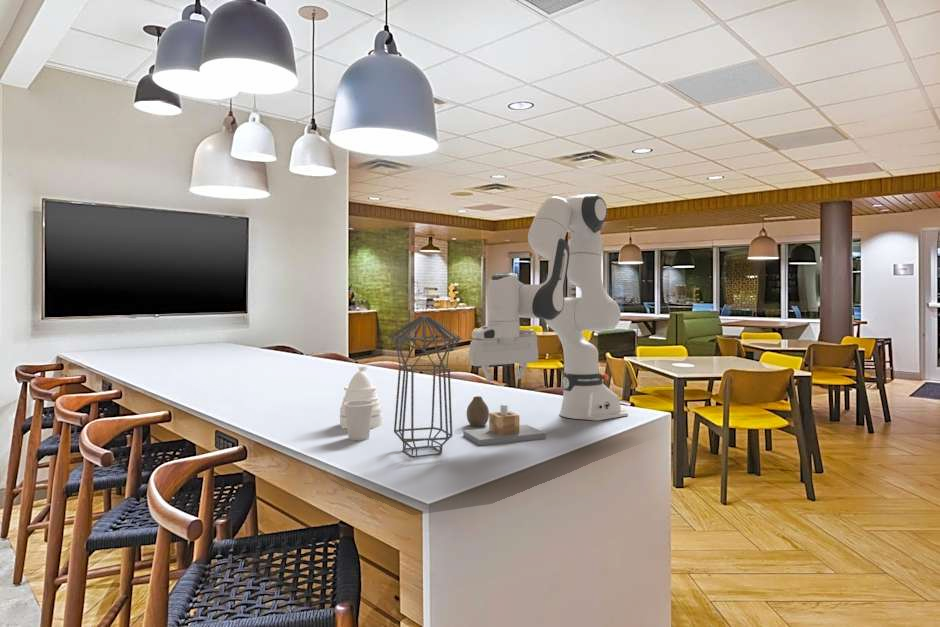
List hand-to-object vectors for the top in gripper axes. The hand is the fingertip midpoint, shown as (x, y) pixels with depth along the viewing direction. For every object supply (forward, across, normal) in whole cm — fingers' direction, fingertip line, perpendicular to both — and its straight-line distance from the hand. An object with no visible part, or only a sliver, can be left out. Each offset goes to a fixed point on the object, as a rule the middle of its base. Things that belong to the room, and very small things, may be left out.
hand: (504, 379), depth 167 cm
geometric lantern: (+16, +26, +6) cm, 31 cm away
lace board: (+16, +1, 0) cm, 16 cm away
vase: (+16, +2, -17) cm, 24 cm away
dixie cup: (+16, +39, -15) cm, 44 cm away
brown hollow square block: (+15, 0, 0) cm, 15 cm away
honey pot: (+16, +35, -32) cm, 50 cm away
